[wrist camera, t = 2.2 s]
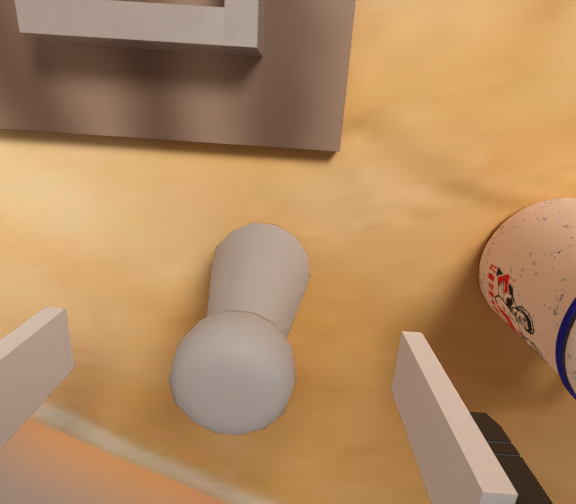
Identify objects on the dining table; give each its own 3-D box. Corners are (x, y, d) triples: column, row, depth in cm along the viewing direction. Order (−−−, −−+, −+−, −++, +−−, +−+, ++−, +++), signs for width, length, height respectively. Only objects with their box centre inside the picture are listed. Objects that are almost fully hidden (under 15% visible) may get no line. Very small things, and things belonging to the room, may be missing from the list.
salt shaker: (219, 292, 25) (139, 457, 13) (221, 210, 23) (128, 310, 11) (305, 300, 25) (308, 473, 13) (314, 218, 23) (327, 328, 11)
